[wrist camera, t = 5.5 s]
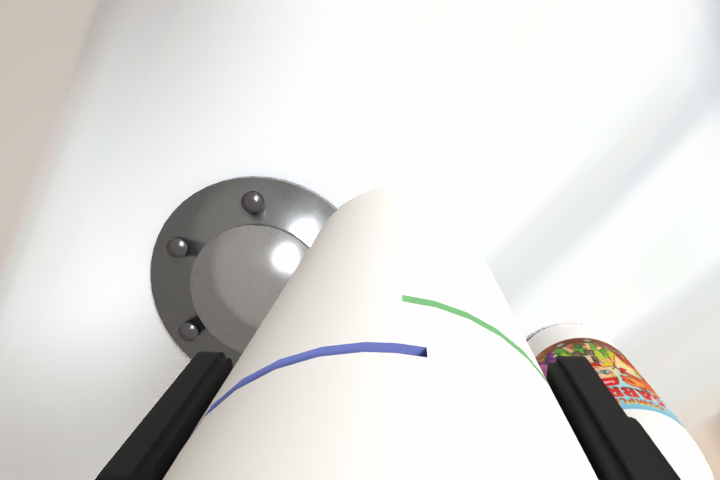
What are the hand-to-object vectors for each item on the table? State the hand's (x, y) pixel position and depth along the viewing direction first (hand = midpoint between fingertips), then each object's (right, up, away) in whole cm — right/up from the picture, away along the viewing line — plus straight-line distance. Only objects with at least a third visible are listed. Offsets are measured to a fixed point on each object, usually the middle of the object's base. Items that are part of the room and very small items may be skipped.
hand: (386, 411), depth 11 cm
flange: (-8, 0, +27) cm, 28 cm away
